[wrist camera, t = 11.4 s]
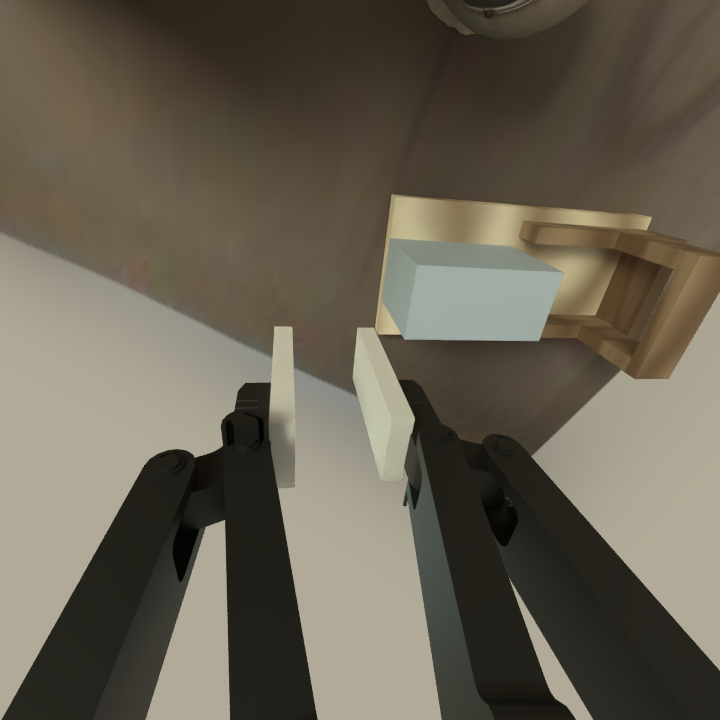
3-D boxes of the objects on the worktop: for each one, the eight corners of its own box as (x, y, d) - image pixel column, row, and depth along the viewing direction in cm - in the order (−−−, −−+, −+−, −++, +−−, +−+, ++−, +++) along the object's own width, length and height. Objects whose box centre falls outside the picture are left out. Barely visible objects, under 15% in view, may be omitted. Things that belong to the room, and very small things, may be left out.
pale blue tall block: (381, 300, 31) (404, 339, 25) (390, 238, 29) (417, 265, 23) (493, 304, 33) (538, 341, 27) (510, 245, 31) (564, 272, 25)
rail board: (375, 328, 34) (405, 394, 25) (391, 194, 28) (438, 220, 20) (590, 331, 38) (680, 389, 29) (640, 214, 32) (770, 243, 24)
